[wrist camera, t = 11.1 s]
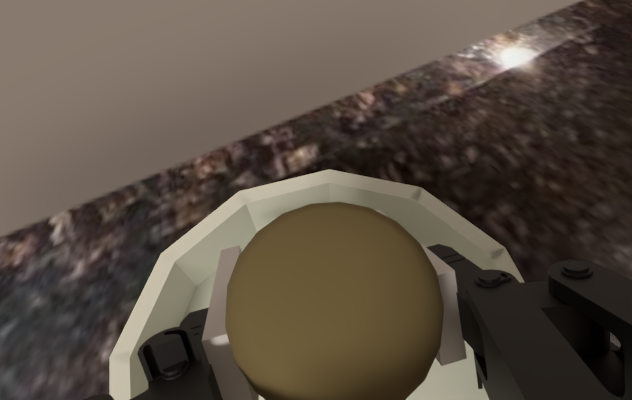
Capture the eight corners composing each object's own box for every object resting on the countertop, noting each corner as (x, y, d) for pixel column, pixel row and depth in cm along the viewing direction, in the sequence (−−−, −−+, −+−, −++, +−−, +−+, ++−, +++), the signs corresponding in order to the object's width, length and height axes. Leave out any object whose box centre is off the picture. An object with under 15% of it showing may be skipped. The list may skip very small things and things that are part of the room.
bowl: (428, 185, 25) (445, 140, 21) (601, 535, 16) (683, 565, 13) (146, 258, 24) (109, 222, 20) (168, 691, 15) (109, 782, 11)
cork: (256, 313, 19) (180, 190, 10) (379, 285, 20) (421, 141, 10) (278, 461, 16) (196, 494, 7) (423, 424, 16) (541, 404, 7)
